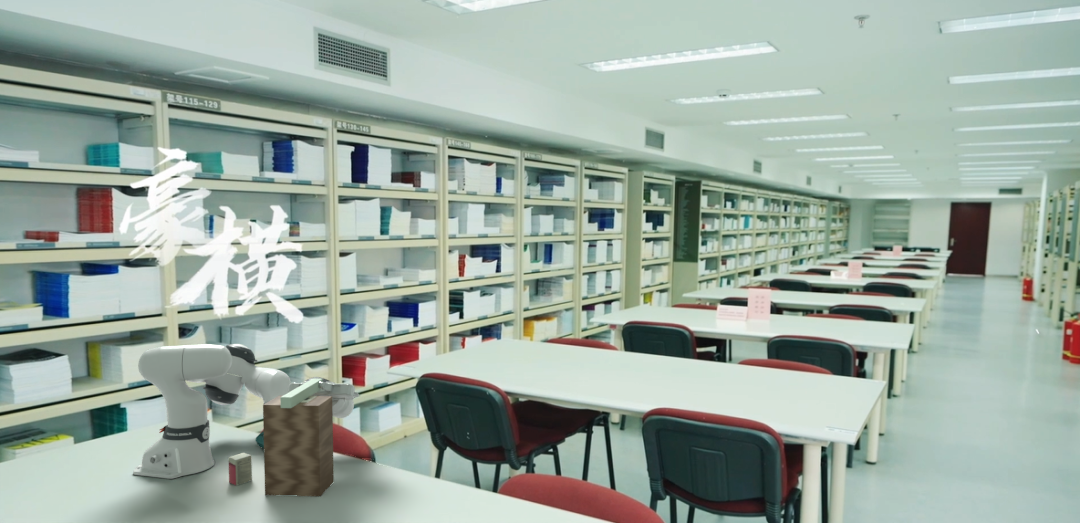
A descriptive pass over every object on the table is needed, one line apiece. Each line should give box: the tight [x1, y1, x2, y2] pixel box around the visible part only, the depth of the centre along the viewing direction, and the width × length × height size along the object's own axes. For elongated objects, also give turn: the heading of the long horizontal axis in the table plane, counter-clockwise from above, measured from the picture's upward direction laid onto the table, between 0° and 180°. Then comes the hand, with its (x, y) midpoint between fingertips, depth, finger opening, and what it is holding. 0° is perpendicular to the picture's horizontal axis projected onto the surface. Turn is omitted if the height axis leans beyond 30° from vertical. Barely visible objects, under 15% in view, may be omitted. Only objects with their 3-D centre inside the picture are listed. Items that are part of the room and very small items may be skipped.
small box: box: [227, 452, 253, 487], centre depth 189 cm, size 5×4×8 cm
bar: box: [280, 379, 323, 408], centre depth 185 cm, size 3×22×3 cm, turn 177°
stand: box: [262, 395, 335, 497], centre depth 183 cm, size 16×10×26 cm, turn 87°
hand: (313, 384), depth 193 cm, fingers closed on bar, 3 cm apart
